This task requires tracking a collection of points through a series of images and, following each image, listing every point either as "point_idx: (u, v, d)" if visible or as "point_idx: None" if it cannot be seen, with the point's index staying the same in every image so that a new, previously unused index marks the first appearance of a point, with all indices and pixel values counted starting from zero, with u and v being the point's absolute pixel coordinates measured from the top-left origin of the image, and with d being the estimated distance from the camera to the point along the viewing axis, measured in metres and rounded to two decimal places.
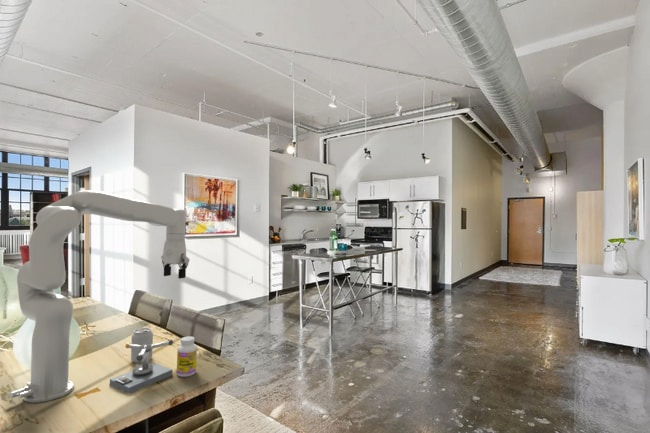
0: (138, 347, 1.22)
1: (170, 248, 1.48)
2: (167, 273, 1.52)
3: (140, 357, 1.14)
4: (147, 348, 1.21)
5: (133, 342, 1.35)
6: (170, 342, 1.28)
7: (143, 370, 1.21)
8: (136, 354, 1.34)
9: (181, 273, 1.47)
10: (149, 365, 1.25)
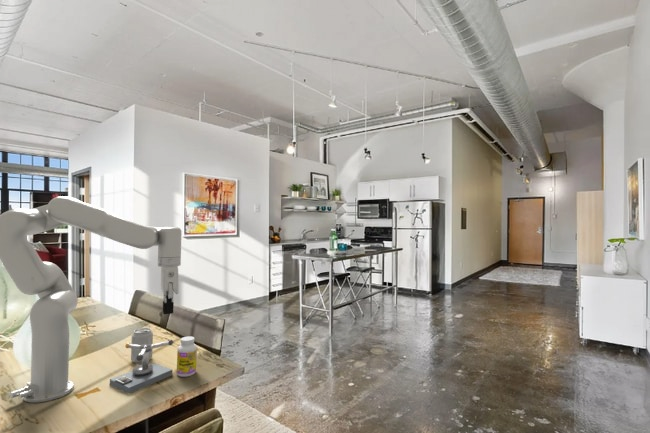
0: (138, 347, 1.22)
1: None
2: None
3: (140, 357, 1.14)
4: (147, 348, 1.21)
5: (133, 342, 1.35)
6: (170, 342, 1.28)
7: (143, 370, 1.21)
8: (136, 354, 1.34)
9: None
10: (149, 365, 1.25)
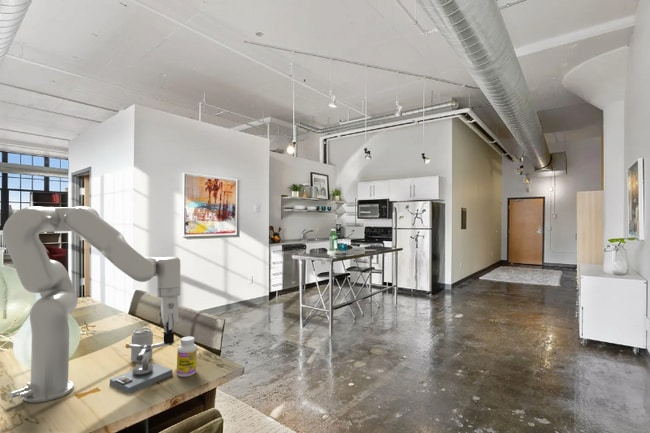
0: (138, 347, 1.22)
1: None
2: None
3: (140, 357, 1.14)
4: (147, 348, 1.21)
5: (133, 342, 1.35)
6: None
7: (143, 370, 1.21)
8: (136, 354, 1.34)
9: None
10: (149, 365, 1.25)
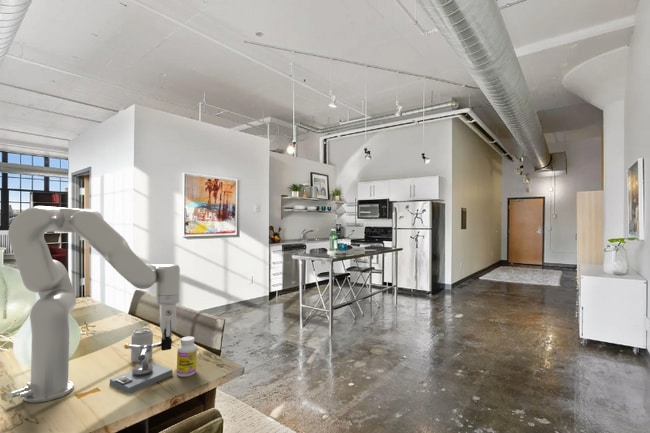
0: (138, 347, 1.22)
1: None
2: None
3: (142, 357, 1.14)
4: (147, 348, 1.21)
5: (133, 342, 1.35)
6: None
7: (143, 370, 1.21)
8: (136, 354, 1.34)
9: None
10: (149, 365, 1.25)
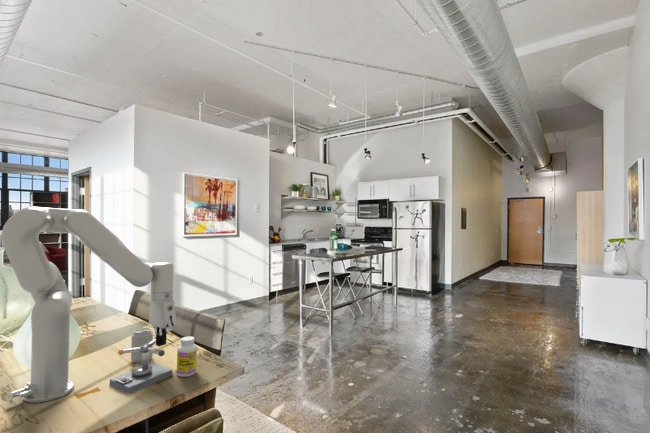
0: (137, 349, 1.21)
1: None
2: None
3: (164, 352, 1.18)
4: (150, 347, 1.22)
5: (133, 342, 1.35)
6: None
7: (147, 369, 1.21)
8: (136, 354, 1.34)
9: None
10: None
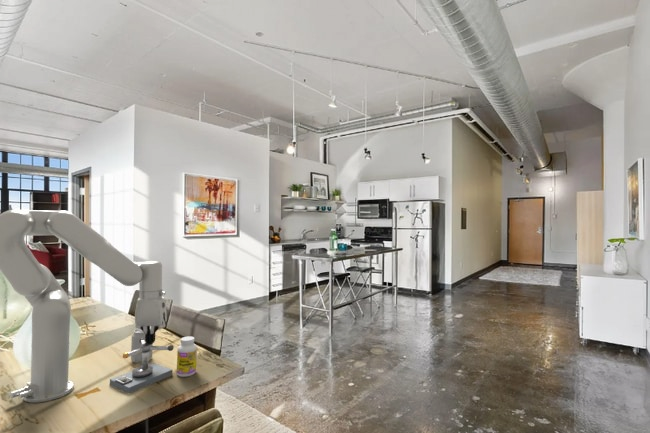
0: (140, 350, 1.20)
1: None
2: None
3: (173, 346, 1.24)
4: (151, 346, 1.23)
5: (133, 342, 1.35)
6: (144, 339, 1.30)
7: (150, 368, 1.22)
8: (136, 354, 1.34)
9: None
10: (139, 367, 1.23)
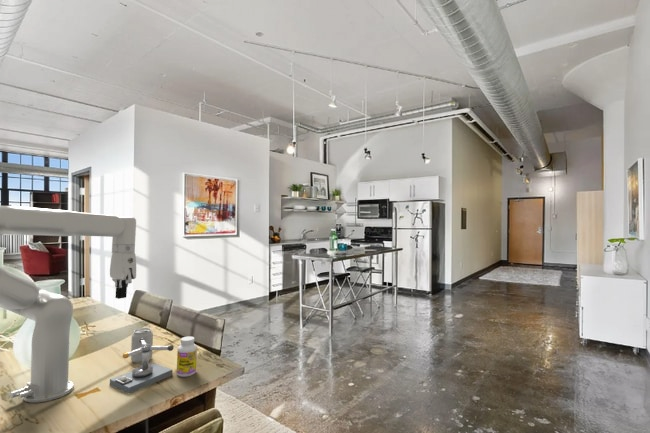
0: (140, 350, 1.20)
1: None
2: None
3: (173, 346, 1.24)
4: (151, 346, 1.23)
5: (133, 342, 1.35)
6: (144, 339, 1.30)
7: (150, 368, 1.22)
8: (136, 354, 1.34)
9: None
10: (139, 367, 1.23)
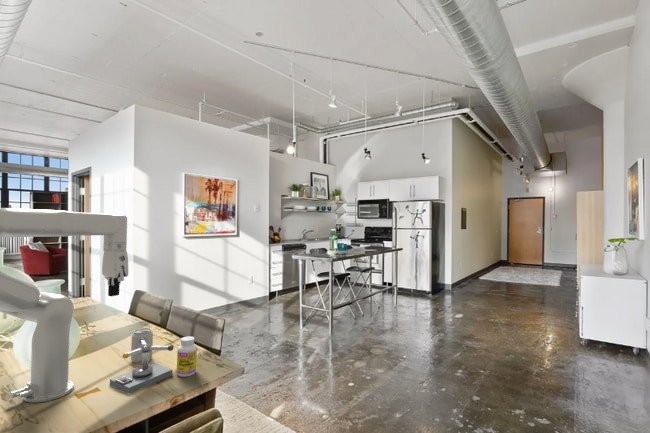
0: (140, 350, 1.20)
1: None
2: None
3: (173, 346, 1.24)
4: (151, 346, 1.23)
5: (133, 342, 1.35)
6: (144, 339, 1.30)
7: (150, 368, 1.22)
8: (136, 354, 1.34)
9: None
10: (139, 367, 1.23)
